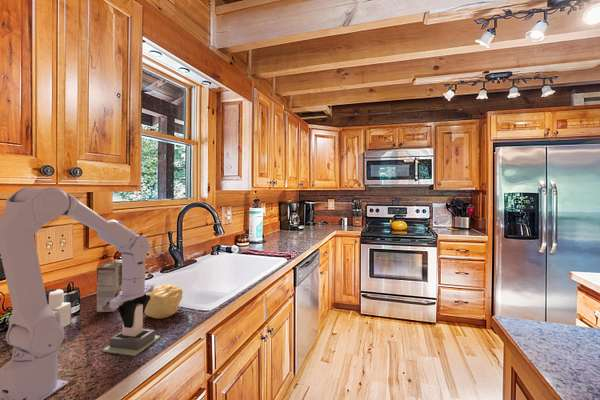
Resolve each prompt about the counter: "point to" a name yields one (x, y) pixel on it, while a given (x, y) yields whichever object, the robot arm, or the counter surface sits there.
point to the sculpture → (163, 301)
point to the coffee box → (108, 285)
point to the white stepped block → (59, 305)
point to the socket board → (131, 342)
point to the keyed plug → (135, 323)
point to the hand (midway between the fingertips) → (133, 324)
